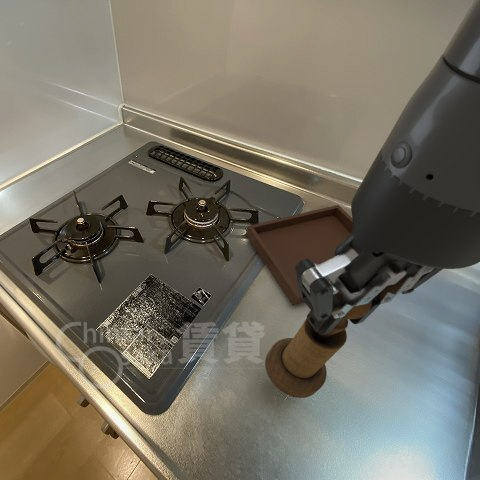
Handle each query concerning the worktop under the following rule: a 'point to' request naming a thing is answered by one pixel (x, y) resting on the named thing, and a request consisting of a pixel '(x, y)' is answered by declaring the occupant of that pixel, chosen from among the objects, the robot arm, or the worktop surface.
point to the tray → (299, 243)
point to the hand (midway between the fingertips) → (334, 319)
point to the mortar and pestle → (307, 355)
